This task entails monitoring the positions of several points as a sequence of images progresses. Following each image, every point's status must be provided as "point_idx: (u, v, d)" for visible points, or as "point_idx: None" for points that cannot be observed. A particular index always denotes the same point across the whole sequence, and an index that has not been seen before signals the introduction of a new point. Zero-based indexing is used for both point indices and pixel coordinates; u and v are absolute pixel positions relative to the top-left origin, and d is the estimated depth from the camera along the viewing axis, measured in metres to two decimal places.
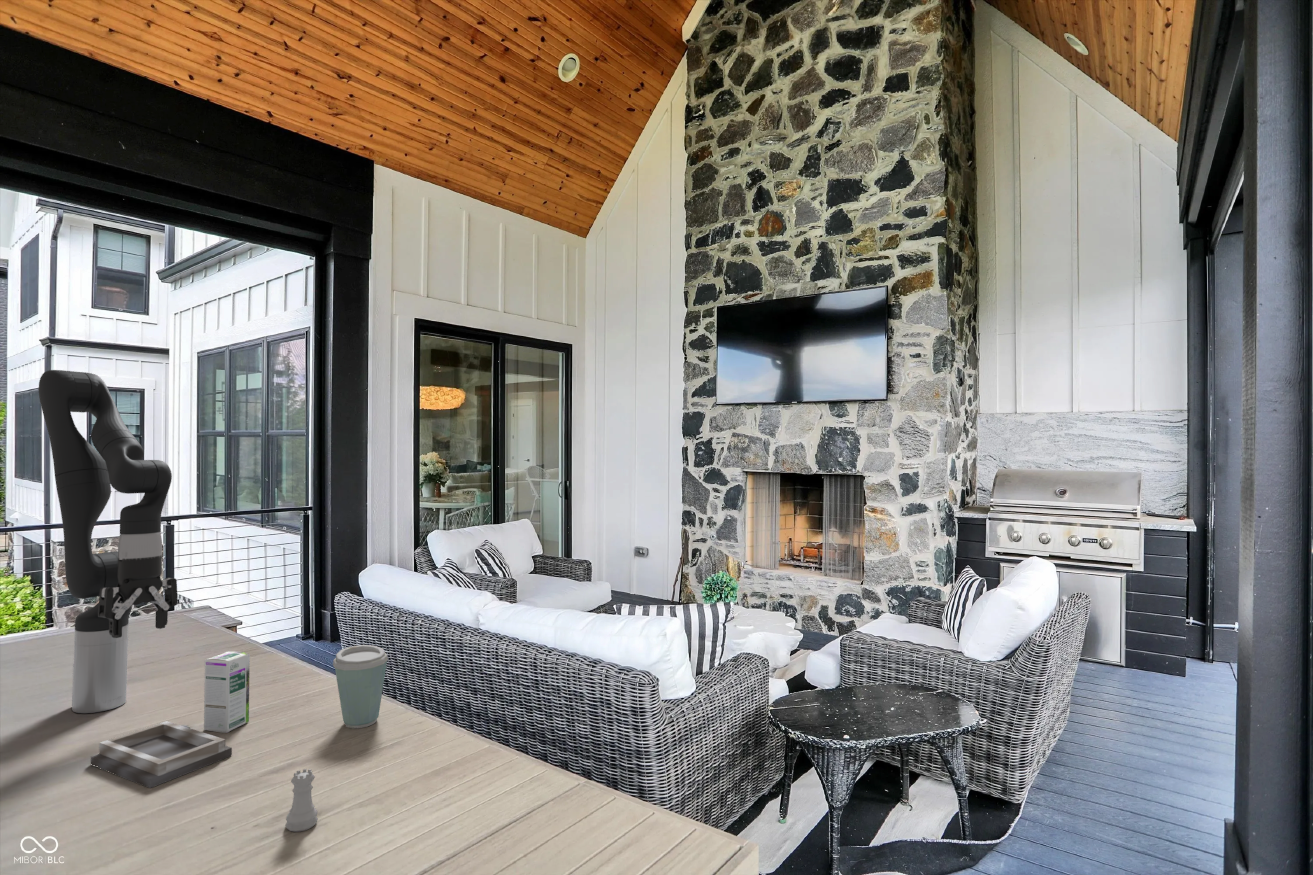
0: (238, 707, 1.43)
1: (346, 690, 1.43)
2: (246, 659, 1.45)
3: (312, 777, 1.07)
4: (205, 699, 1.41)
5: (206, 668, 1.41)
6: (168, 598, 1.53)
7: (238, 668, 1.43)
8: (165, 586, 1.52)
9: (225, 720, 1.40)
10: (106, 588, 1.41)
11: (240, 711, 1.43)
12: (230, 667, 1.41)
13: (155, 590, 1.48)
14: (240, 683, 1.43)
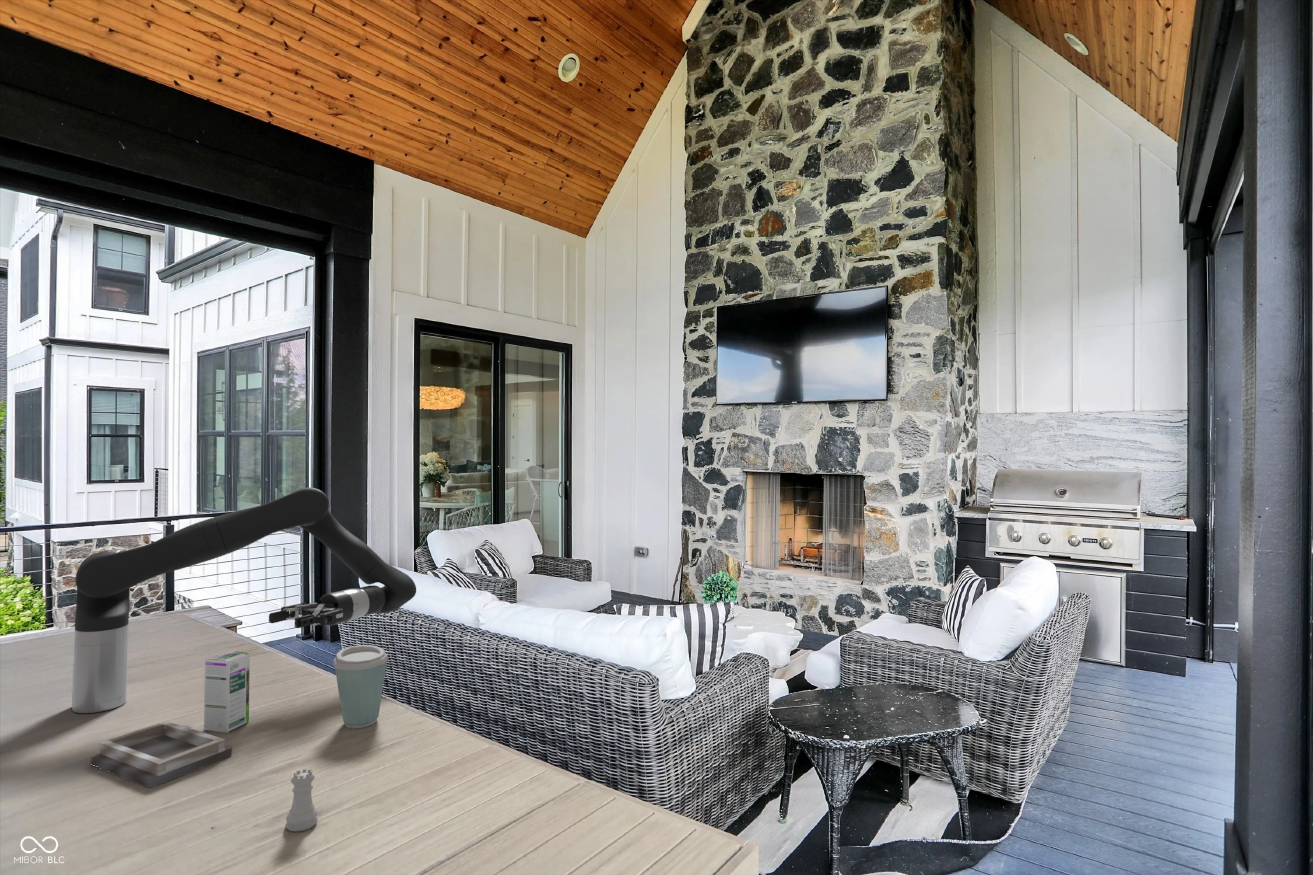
0: (238, 707, 1.43)
1: (346, 690, 1.43)
2: (246, 659, 1.45)
3: (312, 777, 1.07)
4: (205, 699, 1.41)
5: (206, 668, 1.41)
6: None
7: (238, 668, 1.43)
8: None
9: (225, 720, 1.40)
10: None
11: (240, 711, 1.43)
12: (230, 667, 1.41)
13: None
14: (240, 683, 1.43)
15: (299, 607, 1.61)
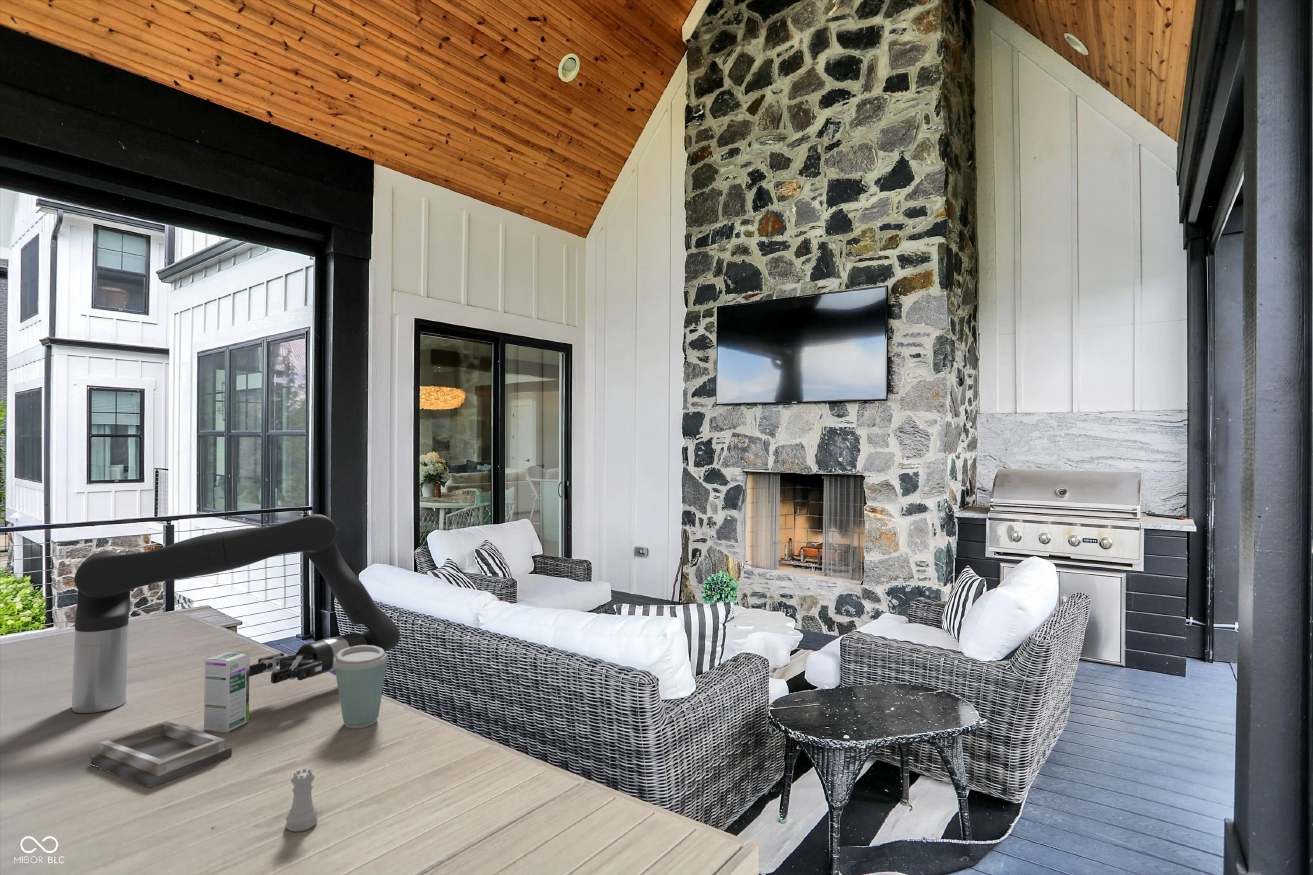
0: (238, 707, 1.43)
1: (346, 690, 1.43)
2: (246, 659, 1.45)
3: (312, 777, 1.07)
4: (205, 699, 1.41)
5: (206, 668, 1.41)
6: None
7: (238, 668, 1.43)
8: None
9: (225, 720, 1.40)
10: None
11: (240, 711, 1.43)
12: (230, 667, 1.41)
13: None
14: (240, 683, 1.43)
15: (277, 659, 1.57)
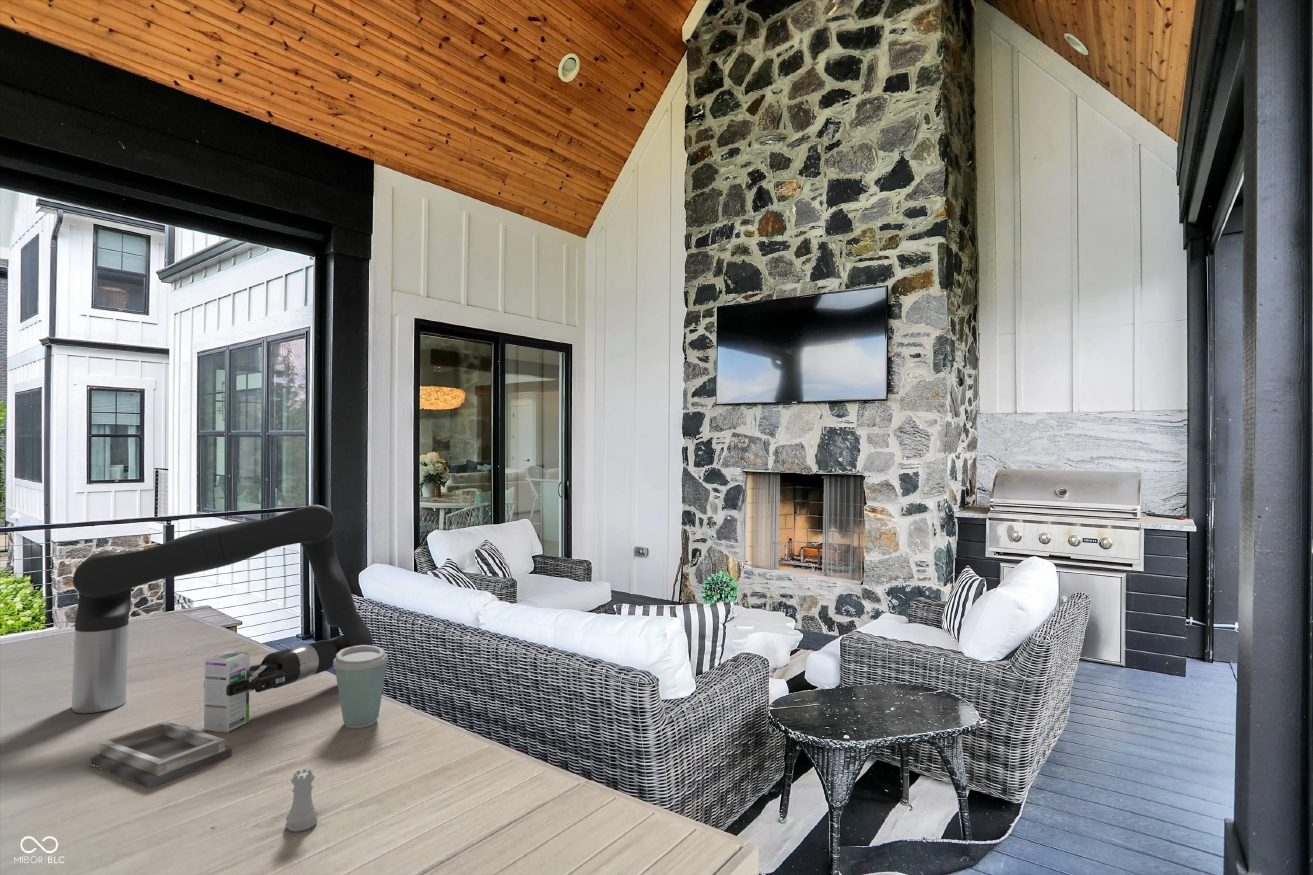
0: (238, 707, 1.43)
1: (346, 690, 1.43)
2: (246, 658, 1.45)
3: (312, 777, 1.07)
4: (205, 699, 1.41)
5: (206, 668, 1.41)
6: None
7: (238, 668, 1.43)
8: None
9: (225, 720, 1.40)
10: (284, 680, 1.48)
11: (240, 710, 1.43)
12: (230, 667, 1.41)
13: None
14: None
15: None
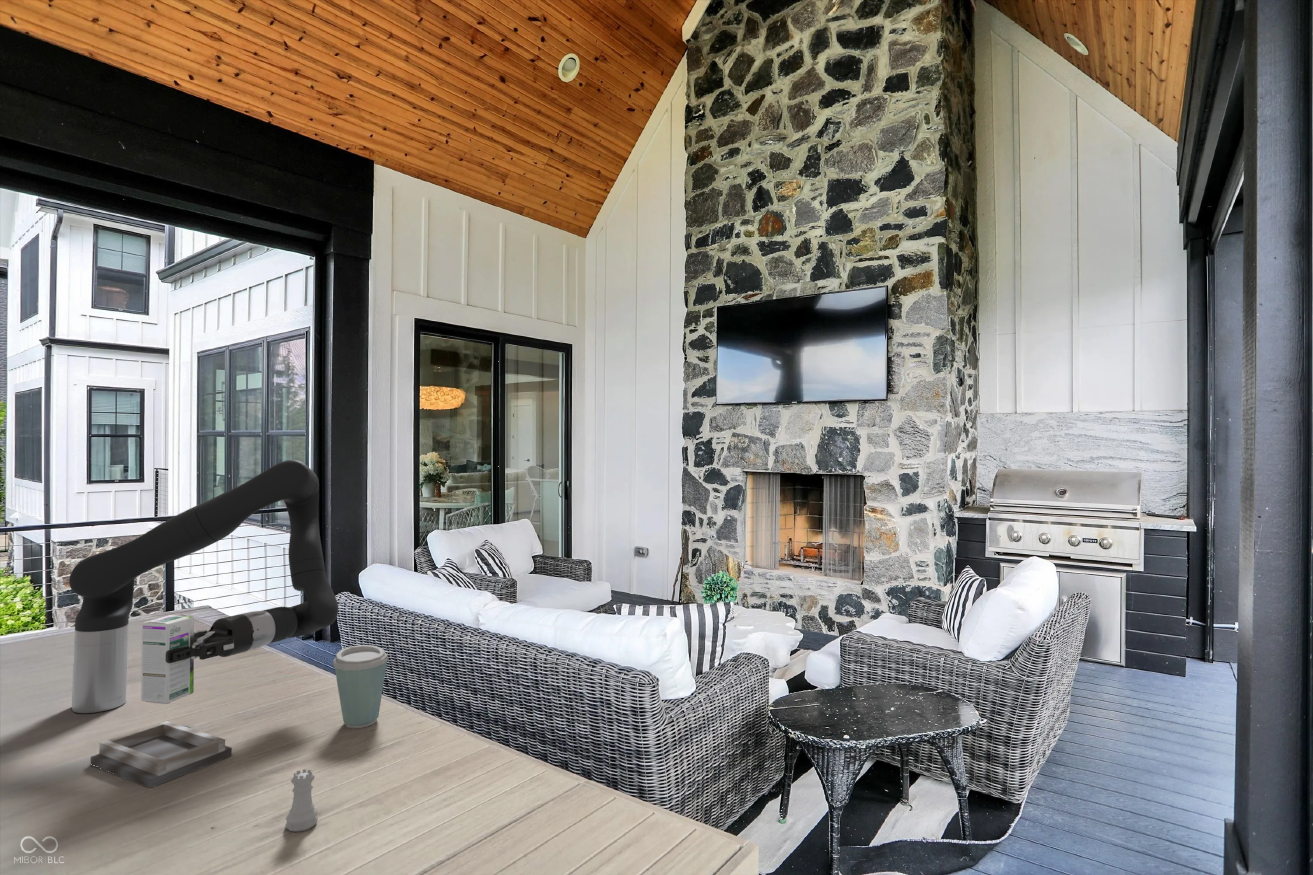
0: (181, 676, 1.28)
1: (346, 690, 1.43)
2: (190, 622, 1.30)
3: (312, 777, 1.07)
4: (142, 667, 1.26)
5: (143, 632, 1.26)
6: None
7: (180, 632, 1.28)
8: None
9: (164, 690, 1.25)
10: (233, 647, 1.33)
11: (182, 680, 1.28)
12: (170, 631, 1.26)
13: None
14: None
15: None
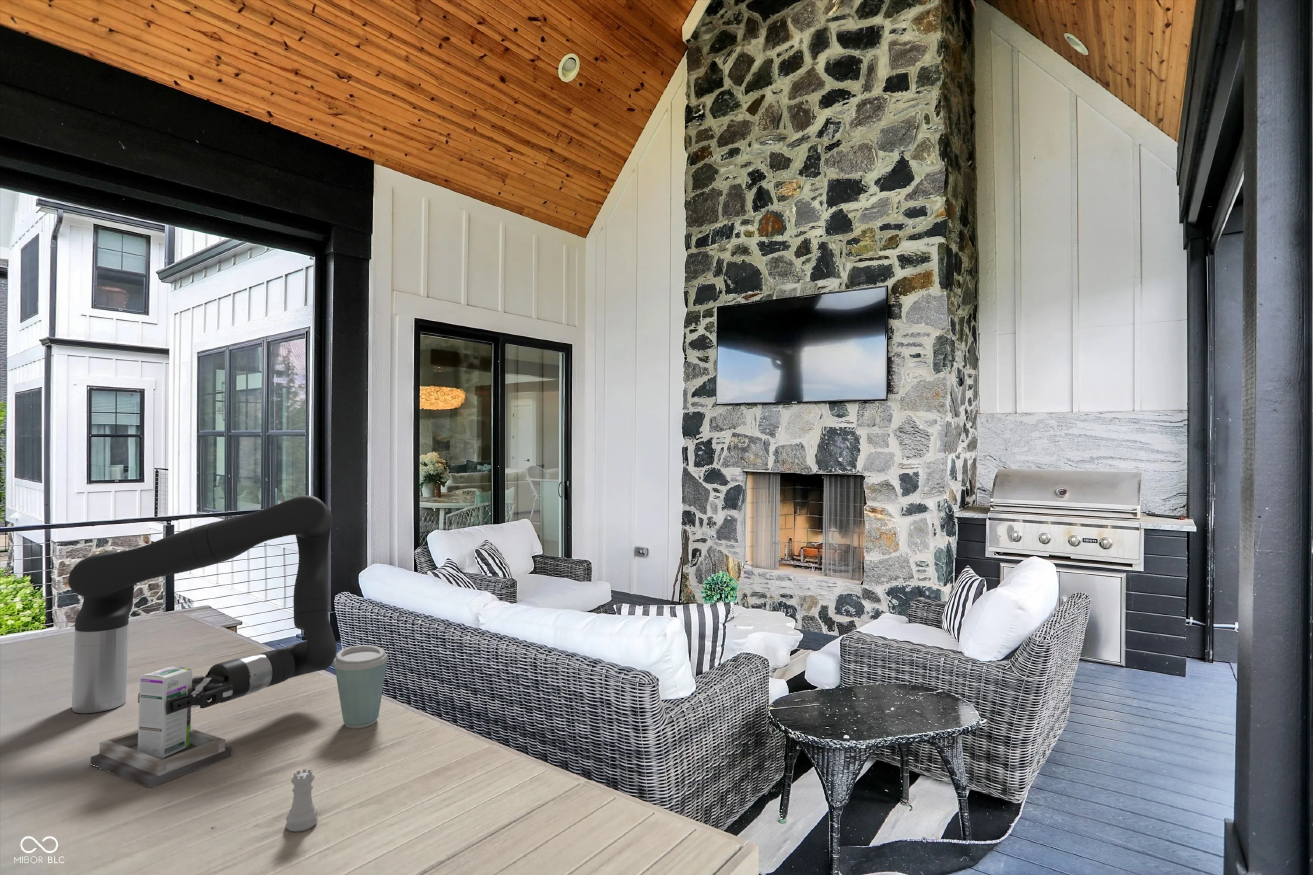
0: (177, 730, 1.27)
1: (346, 690, 1.43)
2: (188, 675, 1.30)
3: (312, 777, 1.07)
4: (139, 720, 1.26)
5: (141, 685, 1.26)
6: None
7: (178, 685, 1.28)
8: None
9: (160, 745, 1.25)
10: (231, 694, 1.33)
11: (178, 734, 1.28)
12: (168, 685, 1.26)
13: None
14: None
15: None
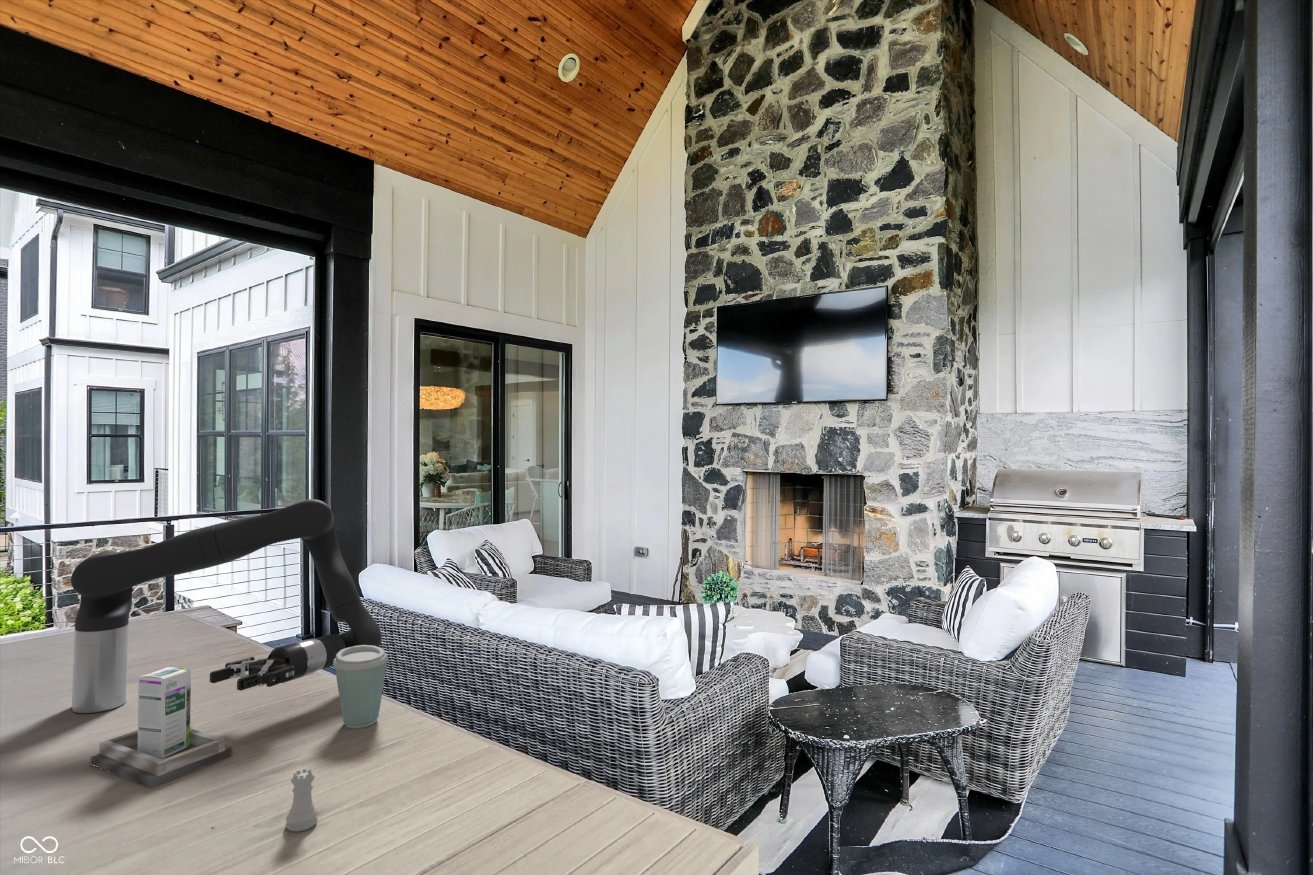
0: (176, 731, 1.27)
1: (346, 690, 1.43)
2: (186, 676, 1.29)
3: (312, 777, 1.07)
4: (139, 721, 1.26)
5: (140, 686, 1.26)
6: None
7: (177, 686, 1.27)
8: None
9: (159, 745, 1.25)
10: (293, 674, 1.44)
11: (178, 734, 1.28)
12: (166, 686, 1.25)
13: None
14: (179, 704, 1.28)
15: (245, 663, 1.45)
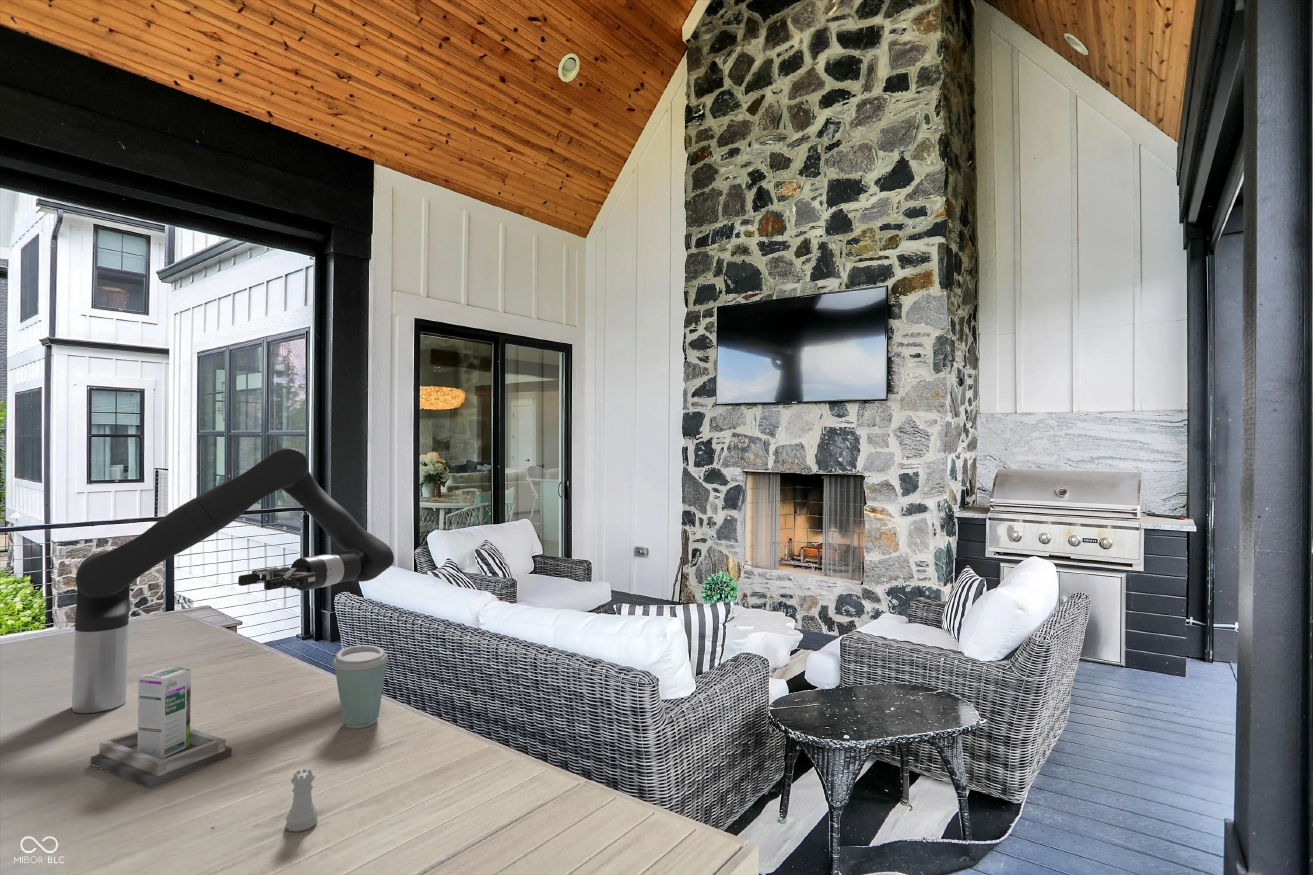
0: (176, 731, 1.27)
1: (346, 690, 1.43)
2: (186, 676, 1.29)
3: (312, 777, 1.07)
4: (139, 721, 1.26)
5: (140, 686, 1.26)
6: (258, 572, 1.58)
7: (177, 686, 1.27)
8: None
9: (159, 745, 1.25)
10: None
11: (178, 734, 1.28)
12: (166, 686, 1.25)
13: None
14: (179, 704, 1.28)
15: (270, 570, 1.57)
